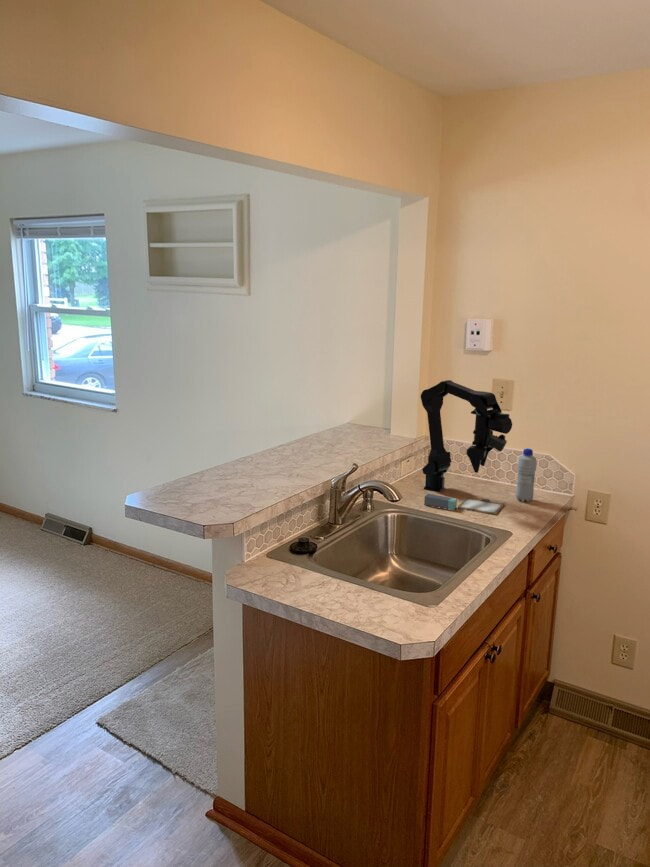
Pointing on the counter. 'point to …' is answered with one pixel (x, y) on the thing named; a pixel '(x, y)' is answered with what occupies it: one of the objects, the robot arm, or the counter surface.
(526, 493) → the bottle
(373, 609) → the counter surface
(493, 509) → the clipboard
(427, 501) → the teal-capped grey block
